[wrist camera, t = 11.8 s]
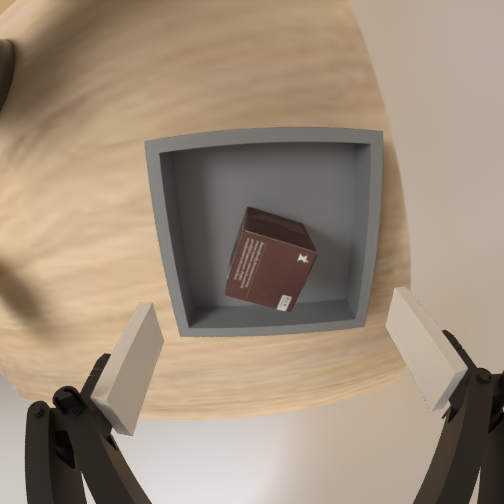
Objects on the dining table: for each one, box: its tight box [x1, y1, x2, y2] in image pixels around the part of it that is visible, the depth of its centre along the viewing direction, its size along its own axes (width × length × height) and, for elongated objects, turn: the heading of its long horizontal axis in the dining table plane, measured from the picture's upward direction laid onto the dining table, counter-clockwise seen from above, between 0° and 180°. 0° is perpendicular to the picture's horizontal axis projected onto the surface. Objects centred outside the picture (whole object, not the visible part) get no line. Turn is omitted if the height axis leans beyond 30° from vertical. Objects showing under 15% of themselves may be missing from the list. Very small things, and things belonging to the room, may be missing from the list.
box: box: [224, 207, 318, 312], centre depth 25 cm, size 6×6×7 cm
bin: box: [145, 127, 383, 337], centre depth 26 cm, size 20×20×5 cm
